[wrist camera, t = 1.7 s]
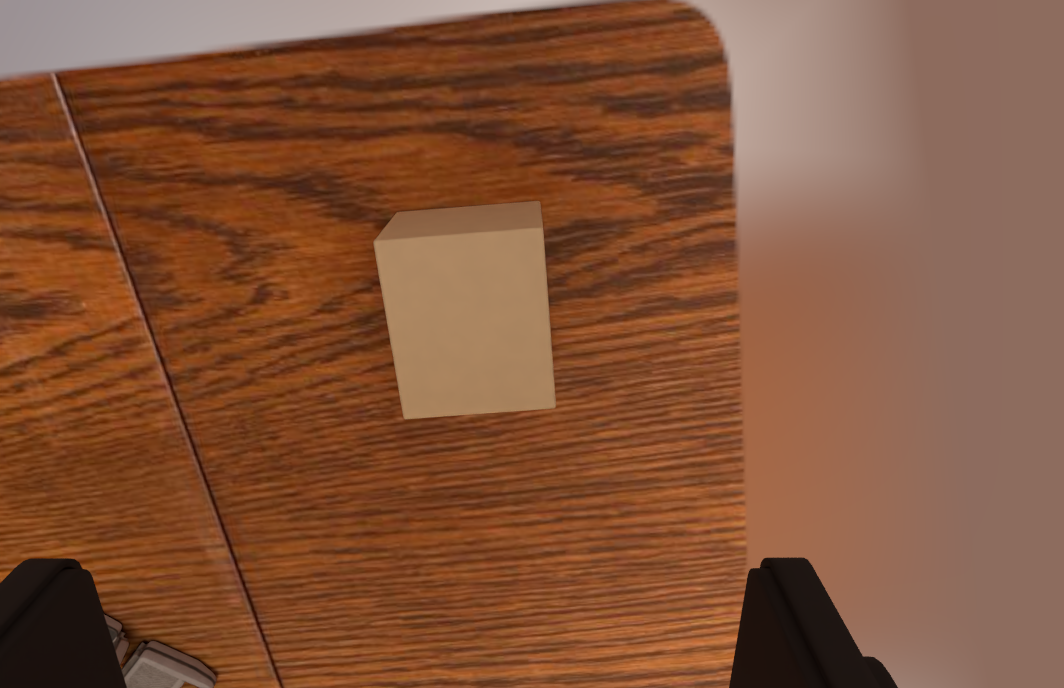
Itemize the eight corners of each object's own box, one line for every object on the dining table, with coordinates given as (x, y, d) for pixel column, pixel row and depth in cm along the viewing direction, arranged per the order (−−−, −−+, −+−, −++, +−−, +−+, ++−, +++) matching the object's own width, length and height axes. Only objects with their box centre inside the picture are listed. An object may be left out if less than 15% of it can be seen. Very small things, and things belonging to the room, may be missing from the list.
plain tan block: (540, 200, 24) (543, 227, 20) (551, 358, 26) (556, 409, 22) (396, 211, 24) (372, 241, 20) (420, 368, 26) (403, 420, 22)
